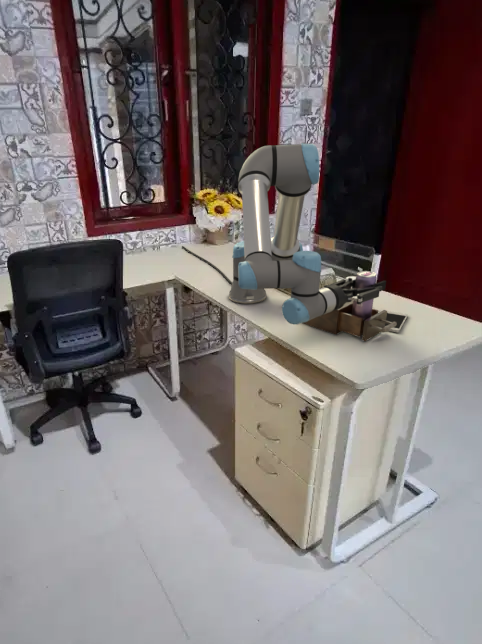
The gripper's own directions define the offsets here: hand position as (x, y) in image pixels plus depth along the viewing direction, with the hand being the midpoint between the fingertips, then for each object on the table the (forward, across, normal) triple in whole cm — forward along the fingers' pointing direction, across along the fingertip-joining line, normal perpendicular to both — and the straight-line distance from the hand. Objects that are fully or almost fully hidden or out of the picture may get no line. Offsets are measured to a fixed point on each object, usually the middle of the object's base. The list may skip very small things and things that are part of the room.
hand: (375, 282), depth 133 cm
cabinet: (-6, -12, -16) cm, 21 cm away
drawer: (-5, +2, -15) cm, 16 cm away
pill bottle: (+12, -17, -16) cm, 27 cm away
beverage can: (-5, 0, -11) cm, 12 cm away
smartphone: (+10, +2, -16) cm, 19 cm away
